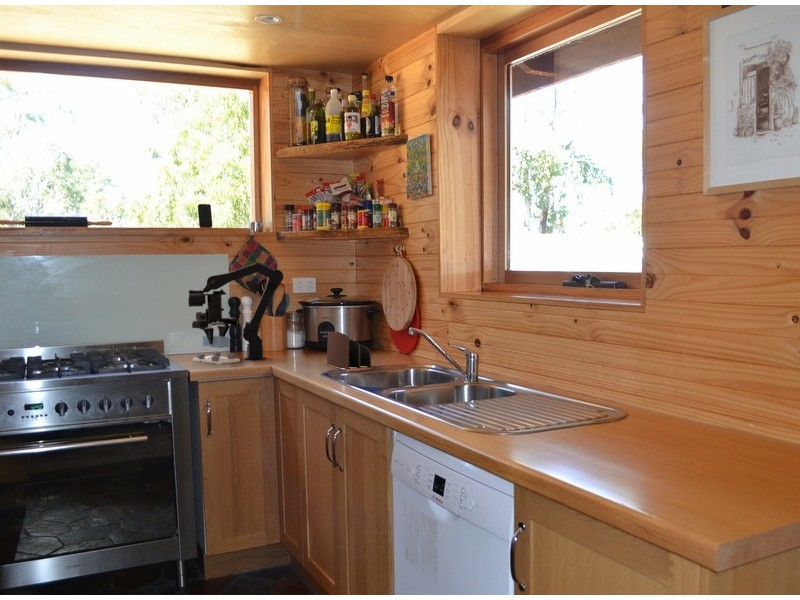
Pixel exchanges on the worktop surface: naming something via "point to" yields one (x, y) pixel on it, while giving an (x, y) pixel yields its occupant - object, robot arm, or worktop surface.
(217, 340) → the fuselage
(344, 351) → the letter holder
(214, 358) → the cradle
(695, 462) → the worktop surface
